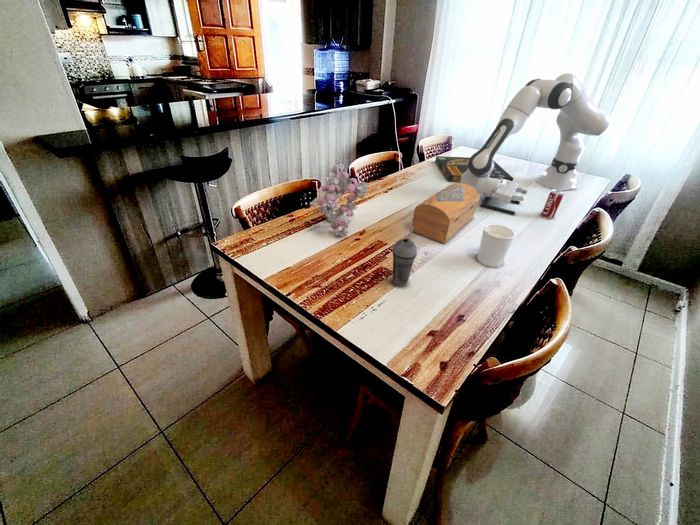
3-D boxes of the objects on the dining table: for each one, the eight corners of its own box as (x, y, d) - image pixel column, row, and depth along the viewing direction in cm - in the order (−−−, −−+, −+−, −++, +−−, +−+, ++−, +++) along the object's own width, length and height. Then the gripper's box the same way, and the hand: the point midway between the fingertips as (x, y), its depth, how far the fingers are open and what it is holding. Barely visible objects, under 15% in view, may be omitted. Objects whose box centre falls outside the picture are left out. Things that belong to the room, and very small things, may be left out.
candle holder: (503, 256, 118) (513, 227, 111) (504, 271, 110) (516, 240, 104) (475, 250, 120) (483, 221, 114) (474, 264, 113) (483, 234, 106)
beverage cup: (386, 275, 106) (393, 220, 94) (408, 275, 106) (417, 220, 95) (390, 290, 100) (398, 233, 88) (413, 289, 100) (424, 233, 89)
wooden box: (440, 207, 151) (446, 178, 143) (475, 218, 143) (483, 188, 135) (407, 230, 131) (412, 198, 124) (444, 244, 123) (452, 211, 115)
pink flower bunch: (290, 227, 126) (311, 178, 109) (316, 200, 142) (338, 154, 125) (333, 255, 127) (361, 211, 109) (354, 226, 143) (381, 183, 125)
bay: (487, 195, 164) (488, 193, 164) (519, 203, 158) (520, 201, 158) (480, 206, 153) (480, 204, 152) (513, 215, 147) (514, 212, 146)
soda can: (555, 219, 145) (566, 194, 138) (542, 218, 145) (553, 193, 139) (551, 214, 149) (562, 189, 142) (539, 213, 150) (549, 188, 143)
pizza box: (511, 184, 179) (513, 178, 177) (448, 181, 179) (449, 175, 177) (489, 164, 208) (491, 158, 206) (435, 161, 208) (436, 156, 206)
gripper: (491, 188, 144) (524, 196, 139) (500, 176, 159) (530, 182, 153) (487, 201, 148) (519, 209, 142) (496, 188, 163) (526, 195, 157)
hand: (525, 195), depth 148 cm, fingers open, 8 cm apart
